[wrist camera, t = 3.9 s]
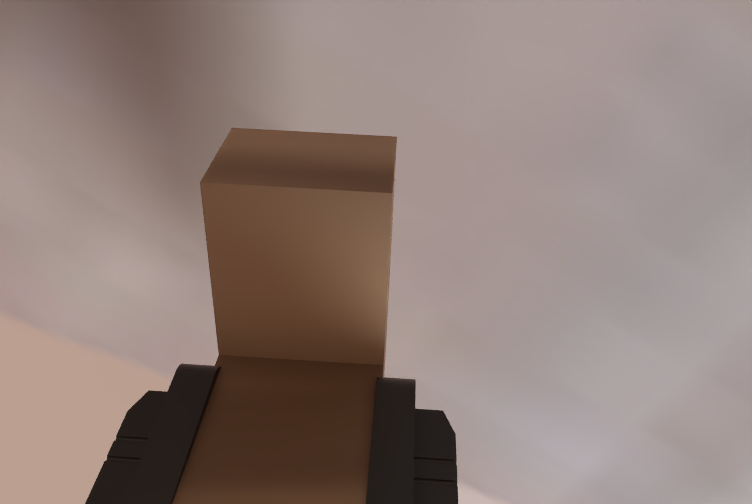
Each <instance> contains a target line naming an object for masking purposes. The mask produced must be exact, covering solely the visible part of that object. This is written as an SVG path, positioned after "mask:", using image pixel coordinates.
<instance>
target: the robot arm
mask: <svg viewBox="0 0 752 504" xmlns="http://www.w3.org/2000/svg"><path fill="white" fill-rule="evenodd" d="M220 368H221V366H208V365H192V364H180V365H179V367H178V368H177V370H176V372H175V375H174V377H173V380H172V382H171V385H170V387H169V390H168V392H162V391H148V392H147V393H146V394H145V395H144V396H143V397H142V398H141V399H140V400H139V401H138V402H137V403H135V404H134V405H133V406H132V407H131V408H130V409H129V410H128V412H127V414H126V416H125V418H124V420H123V422H122V424H121V427H120V429H119V431H118V433H117V436H116V441H114V442H113V444H112V446H111V449H110V451H109V453H108V455H107V461H105V462H104V464H103V466H102V468H101V471H100V473H99V475H98V477H97V479H96V481H95V484H94V486H93V488H92V490H91V492H90V495H89V497H88V499H87V501H86V503H85V504H172V502H173V499H174V497H175V494H176V491H177V488H178V485H179V483H180V480H181V477H182V474H183V471H184V469H185V466H186V463H187V460H188V458H189V455H190V452H191V449H192V446H193V444H194V441H195V438H196V435H197V432H198V430H199V427H200V424H201V421H202V419H203V416H204V413H205V410H206V407H207V405H208V402H209V399H210V396H211V394H212V391H213V388H214V385H215V382H216V380H217V377H218V374H219V371H220ZM366 504H458V487H457V465H456V437H455V432H454V431H453V429H452V427H451V425H450V423H449V421H448V419H447V418H446V416H445V414H444V412H443V411H439V410H424V409H415V380H414V379H399V378H384V377H377V378H376V388H375V400H374V412H373V424H372V436H371V448H370V460H369V472H368V484H367V496H366Z"/></svg>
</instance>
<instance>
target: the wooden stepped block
mask: <svg viewBox="0 0 752 504" xmlns="http://www.w3.org/2000/svg"><path fill="white" fill-rule="evenodd" d="M396 143H397V137H392V136H373V135H354V134H335V133H317V132H298V131H279V130H261V129H242V128H232V129H231V130H230V132H229V134H228V136H227V137H226V139H225V141H224V142H223V144H222V146H221V148H220V149H219V151H218V153H217V154H216V156H215V158H214V160H213V161H212V163H211V165H210V166H209V168H208V170H207V172H206V173H205V175H204V177H203V178H202V180H201V182H200V186H201V196H202V205H203V214H204V223H205V232H206V241H207V250H208V259H209V269H210V278H211V287H212V296H213V305H214V314H215V323H216V333H217V342H218V351H219V356H218V359H217V362H216V364H215V366H221V368H220V371H219V374H218V377H217V380H216V382H215V385H214V388H213V391H212V394H211V396H210V399H209V402H208V405H207V407H206V410H205V413H204V416H203V419H202V421H201V424H200V427H199V430H198V432H197V435H196V438H195V441H194V444H193V446H192V449H191V452H190V455H189V458H188V460H187V463H186V466H185V469H184V471H183V474H182V477H181V480H180V483H179V485H178V488H177V491H176V494H175V497H174V499H173V502H172V504H366V496H367V484H368V472H369V460H370V448H371V436H372V424H373V412H374V400H375V388H376V378H377V377H384V370H385V351H386V332H387V313H388V294H389V275H390V256H391V237H392V219H393V200H394V181H395V162H396Z"/></svg>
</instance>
